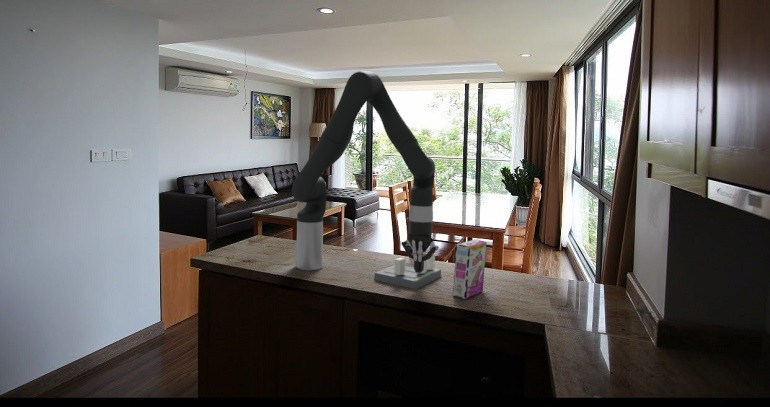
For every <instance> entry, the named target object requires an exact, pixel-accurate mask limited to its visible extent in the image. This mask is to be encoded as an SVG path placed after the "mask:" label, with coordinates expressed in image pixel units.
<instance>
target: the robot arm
mask: <svg viewBox="0 0 770 407" xmlns="http://www.w3.org/2000/svg"><path fill="white" fill-rule="evenodd" d="M341 93H342V94H341V96H340V98H339V101H338V104H337V106H336V108H335V110H334V111H333V114H332V115H331V117H330V119H329V121H328V122H327V124H326V126H325V128H324V130H323V132H322V134H321V135H320V137H319V139H318V141H317V143H316V145H315V147H314V149H313V151H312V153H311V155H310V156H309V158H308V160H307V161H306V163H305V164H304V166H303V167H302V169H301V171H300V172H299V173H298V175H297V176H296V178H295V180H294V181H293V185H292V187H291V188H292V189H291V190H292V191H291V192H292V197H293V198H294V200H295V201H296V202H298V203H305V205H304V207H303V208H302V209H301V210H300V211H298V212H297V214H296V240H295V241H294V267H295V268H296V269H298V270H300V271H317V270H321V269H322V268H323V254H324V253H323V247H324V246H323V245H324V244H323V243H324V242H323V241H324V240H323V239H324V215H325V214H326V207H327V183H326V182H325V180H324V178H323V177H322V175H323V174H324V173H325V171H326V170H328V169H329V168H330V167H331V166H333V164H335V163H336V162H337V161H338V160H339V159H340V158H341V157H342V156H343V154H344V152H345V151H346V149H347V147H348V145H349V144H350V142H351V140H352V137H353V131H354V127H355V126H354V125H355V121H356V119H357V116H358V114H359V113H360V111H361V109H362V108H363V106H364V105H365V104H366V103H367V102H368V103H369V104H370V105H371V106H372V107H373V109H374V110H375V111H376V113H377V114H378V116H379V118H380V120H381V123H382V126H383V129H384V133H386V136H387V137H388V139H389V141H390V143H391V144H392V145H393V146H394V148H395V149H396V151H397V152H398V153H399V155H400V156H401V157H402V159H403V162H404V163H405V165H406V167H407V168H408V170H409V172H410V173H411V174H412V176H413V179H412V182H413V183H412V187H411V191H410V204H409V213H408V214H409V215H408V216H409V217H408V236H407V238H406V239H405V240H404V241H402V242H401V246H402V248H403V249H404V251H405V253H406V254H407V257H408V259H409V258H412V259H413V260H414V270H415V272H417V273H421V272H422V271H423V269H424V261H426V260H428V259H430V258H431V257H432V255H433V254H436V252H437V251H438V249H439V248H440V246H438V245H436V244H435V243H434V240H433V223H434V222H433V219H434V211H433V199H434V190H433V189H434V182H435V176H436V175H435V174H436V164H435V162H434V160H433V159H432V158H431V157H429V156H427V155H426V153H425V152H424V151H423V149H422V147H421V146H420V143H419V141H418V139H417V138H416V136H415V135H414V133H413V131H412V130H411V129H410V128H409V126H408V125H407V124H406V122H405V121H404V119H403V118H402V116H401V114H400V113H399V111H398V109H397V108H396V106H395V104H394V102H393V100H392V99H391V97H390V95H389V93H388V91H387V89H386V86H385V84H384V82H383V80H382V79H381V77H380V75H379V74H377V73H375V72H374V71H369V70H360V71H356V72H354V73H352V74H351V75H350V77H349V78H348V80H347V81H346V84H345V86H344V89H343V91H342V92H341ZM410 245H411V246H410ZM411 247H412V248H411ZM428 249H429V250H428ZM427 251H428V252H427Z"/></svg>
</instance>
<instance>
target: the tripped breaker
mask: <svg viewBox="0 0 770 407" xmlns="http://www.w3.org/2000/svg"><path fill="white" fill-rule="evenodd" d="M405 263H406V258H405V257H398V258H395V259H394V265H395V272H394V274H396V275H401V274H404V273H405Z"/></svg>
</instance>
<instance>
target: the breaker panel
mask: <svg viewBox="0 0 770 407" xmlns="http://www.w3.org/2000/svg"><path fill="white" fill-rule="evenodd" d="M435 265H436V253H434V254H433V255H432V257H431V258H430V259H428V260H426V261H424V269H423V271H422V272H421V273H417V272H415V270H414V264H409V262H408V263H407V262H405V273H404V274H401V275H396V274H394V272H395V264H393V265H391V266H389V267H385V268H383V269H380V270H378V271H376V272H374V279H373V280H374V281H378V282H383V283H386V284H391V285H395V286H400V287H404V288H409V289H413V290H418V289H419V288H422V287H423V286H425V285H427V284H429V283H431V282H433V281H435V280H437V279H438V278H440V277H442V269H439V268H435Z"/></svg>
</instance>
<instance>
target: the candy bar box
mask: <svg viewBox="0 0 770 407" xmlns="http://www.w3.org/2000/svg"><path fill="white" fill-rule="evenodd" d="M487 243H488V242H487V241H483V240H478V239H471V240H468V241H464V242H459V243H457V244H456V245H455V257H454V273H453V287H452V296H453V297H455V298H459V299H462V300H467V299H470V298H471V297H474V296H476V295H478V294H481V293H483V291H484V281H485V265H486V257H487V256H486V255H487Z"/></svg>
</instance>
